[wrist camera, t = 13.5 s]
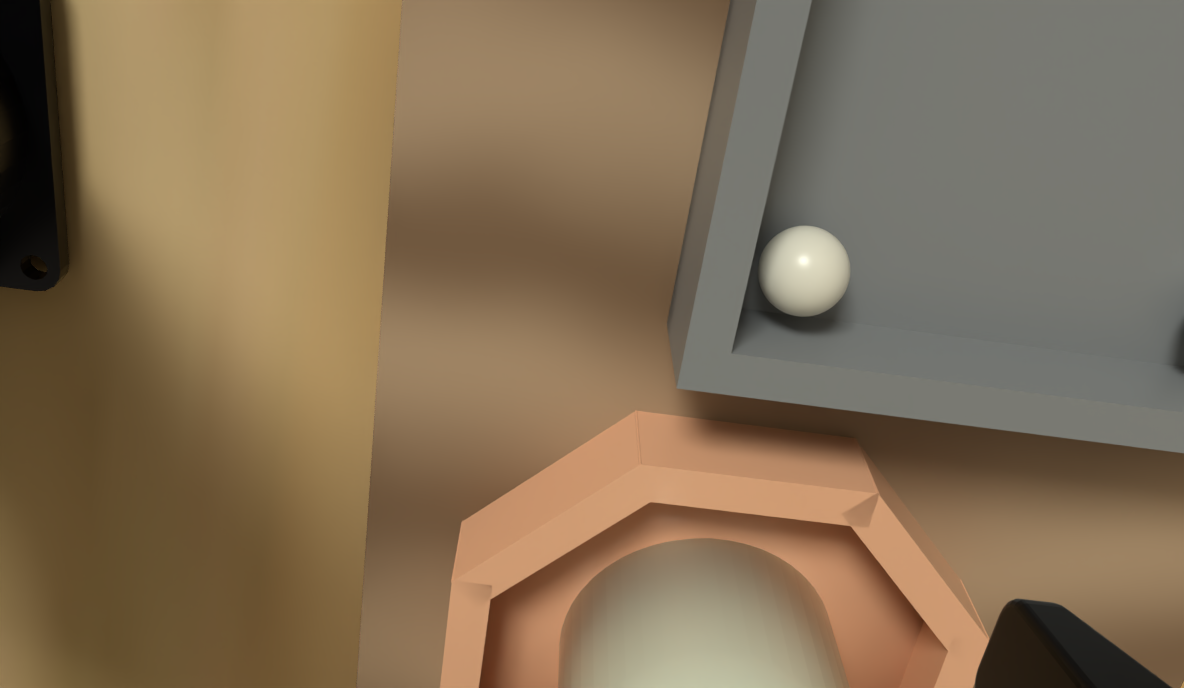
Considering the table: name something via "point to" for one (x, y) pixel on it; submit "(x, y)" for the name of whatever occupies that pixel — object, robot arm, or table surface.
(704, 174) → the parts tray
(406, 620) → the walnut board
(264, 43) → the table surface
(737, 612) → the pale green tall cylinder
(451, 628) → the terracotta dish
